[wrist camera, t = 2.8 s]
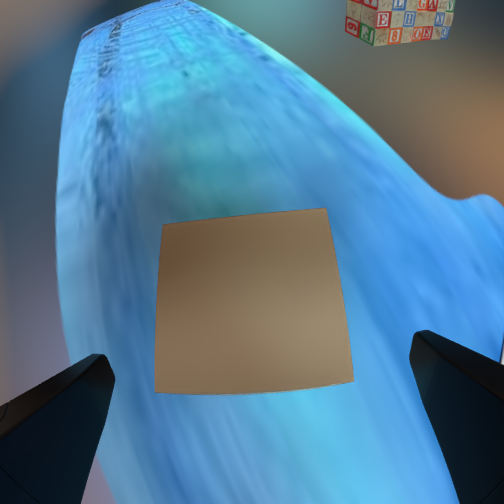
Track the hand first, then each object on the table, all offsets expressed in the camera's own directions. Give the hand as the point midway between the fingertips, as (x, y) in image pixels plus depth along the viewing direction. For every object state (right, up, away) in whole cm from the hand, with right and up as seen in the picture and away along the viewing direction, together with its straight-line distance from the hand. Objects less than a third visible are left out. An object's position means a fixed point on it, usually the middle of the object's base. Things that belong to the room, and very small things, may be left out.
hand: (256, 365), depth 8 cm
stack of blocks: (+25, +39, +28) cm, 54 cm away
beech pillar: (+1, -3, +9) cm, 10 cm away
